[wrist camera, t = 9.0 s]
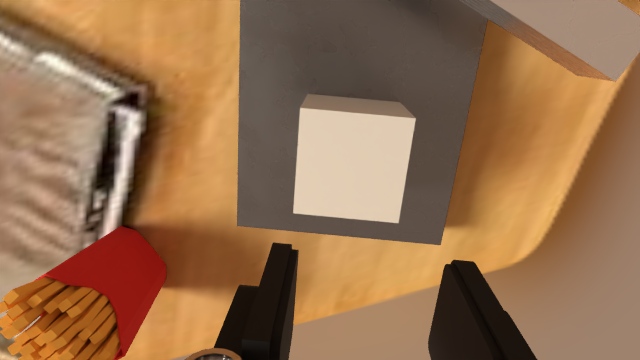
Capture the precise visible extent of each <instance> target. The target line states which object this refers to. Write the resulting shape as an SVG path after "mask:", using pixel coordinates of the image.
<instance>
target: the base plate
mask: <svg viewBox="0 0 640 360" xmlns="http://www.w3.org/2000/svg"><path fill="white" fill-rule="evenodd" d="M487 21H488V18H486V17H485V16H483V15H481V14H480V13H478V12H477V11H475V10H474V9H472V8H470V7H469V6H467V5H466V4H464V3H463V2H461V1H460V0H240V63H239V132H238V200H237V226H244V227H254V228H265V229H275V230H286V231H296V232H307V233H318V234H328V235H339V236H349V237H360V238H371V239H381V240H392V241H402V242H413V243H424V244H434V245H441V240H442V236H443V231H444V226H445V221H446V217H447V212H448V207H449V202H450V198H451V193H452V188H453V183H454V178H455V174H456V169H457V164H458V159H459V155H460V150H461V145H462V140H463V135H464V131H465V126H466V121H467V116H468V112H469V107H470V102H471V97H472V92H473V88H474V83H475V78H476V73H477V69H478V64H479V59H480V54H481V49H482V45H483V40H484V35H485V30H486V26H487ZM307 94H316V95H327V96H338V97H349V98H360V99H371V100H382V101H393V102H400V103H401V104H402V105H403V106H404V107H405V108H406V109H407V110H408V111H409V112H410V113H411V114H412V115H413V116H414V117H415V118H416V120H415V126H414V132H413V138H412V144H411V150H410V157H409V163H408V169H407V175H406V181H405V187H404V193H403V199H402V205H401V211H400V217H399V223H391V222H380V221H370V220H359V219H348V218H338V217H327V216H316V215H306V214H295V213H293V208H294V193H295V177H296V162H297V147H298V132H299V117H300V107H301V105H302V104H303V102H304V100H305V98H306V96H307Z"/></svg>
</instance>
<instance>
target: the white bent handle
mask: <svg viewBox="0 0 640 360" xmlns="http://www.w3.org/2000/svg"><path fill="white" fill-rule="evenodd" d="M460 1H461V2H463V3H464V4H466V5H467V6H469V7H470V8H472V9H474V10H475V11H477V12H478V13H480V14H481V15H483V16H485V17H486V18H488V19H489V20H491V21H492V22H494V23H496V24H497V25H499V26H500V27H502V28H503V29H505V30H506V31H508V32H510V33H511V34H513V35H514V36H516V37H517V38H519V39H521V40H522V41H524V42H525V43H527V44H528V45H530V46H531V47H533V48H535V49H536V50H538V51H539V52H541V53H542V54H544V55H546V56H547V57H549V58H550V59H552V60H553V61H555V62H557V63H558V64H560V65H561V66H563V67H564V68H566V69H567V70H569V71H571V72H572V73H574V74H575V75H577V76H582V77H589V78H595V79H602V80H608V81H615V82H616V81H617V79H618V78H619V77H620V76H621V74H622V73H623V72H624V71H625V69H626V68H627V67H628V66H629V64H630V63H631V62H632V61H633V59H634V58H635V57H636V56H637V54H638V53H639V52H640V16H639V15H638V14H636V13H635V12H633V11H632V10H630V9H629V8H628V7H626V6H625V5H623V4H622V3H620V2H619V1H617V0H460Z"/></svg>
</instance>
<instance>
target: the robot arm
mask: <svg viewBox="0 0 640 360" xmlns="http://www.w3.org/2000/svg"><path fill="white" fill-rule="evenodd" d="M297 265H298V250H293V249H292V244H282V243H273V244H272V247H271V250H270V254H269V257H268V260H267V263H266V266H265V269H264V272H263V275H262V279H261V282H260V285H259V287H258V286H248V285H239V287H238V289H237V291H236V294H235V296H234V299H233V301H232V304H231V306H230V309H229V311H228V313H227V316H226V318H225V321H224V323H223V326H222V328H221V331H220V333H219V336H218V338H217V341H216V343H215V346H214V348H211V349H205V350H201V351H199V352H196V353H194V354H192V355H191V356H189V357H188V358H186V359H185V360H288V358H289V352H290V346H291V339H292V331H293V320H294V306H295V293H296V279H297ZM428 348H429V353H430V357H431V360H537V359H536V357H535V355H534V354H533V352H532V351H531V349H530V347H529V346H528V344H527V343H526V341H525V339H524V338H523V336H522V334H521V333H520V331H519V330H518V328H517V326H516V325H515V323H514V322H513V320H512V318H511V317H510V315H509V314H508V313H507V312H506V311H504V310H503V308H502V306H501V305H500V303H499V301H498V300H497V298H496V296H495V295H494V293H493V292H492V290H491V288H490V287H489V285H488V283H487V282H486V280H485V278H484V277H483V275H482V274H481V272H480V270H479V269H478V267H477V265H476V264H475V263H474V262H472V261H461V260H453V261H452V262H451V264H446V265H445V267H444V270H443V275H442V280H441V284H440V289H439V293H438V298H437V303H436V307H435V312H434V317H433V321H432V326H431V331H430V335H429V341H428Z"/></svg>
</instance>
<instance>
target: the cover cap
mask: <svg viewBox="0 0 640 360" xmlns="http://www.w3.org/2000/svg"><path fill="white" fill-rule="evenodd" d="M415 120H416V118H415V117H414V116H413V115H412V114H411V113H410V112H409V111H408V110H407V109H406V108H405V107H404V106H403V105H402V104H401V103H400V102H393V101H382V100H371V99H360V98H349V97H338V96H327V95H316V94H307V96H306V98H305V100H304V102H303V104H302V105H301V107H300V117H299V132H298V147H297V162H296V177H295V193H294V208H293V213H295V214H306V215H316V216H327V217H338V218H348V219H359V220H370V221H380V222H391V223H399V217H400V211H401V205H402V199H403V193H404V187H405V181H406V175H407V169H408V163H409V157H410V150H411V144H412V138H413V132H414V126H415Z"/></svg>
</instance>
